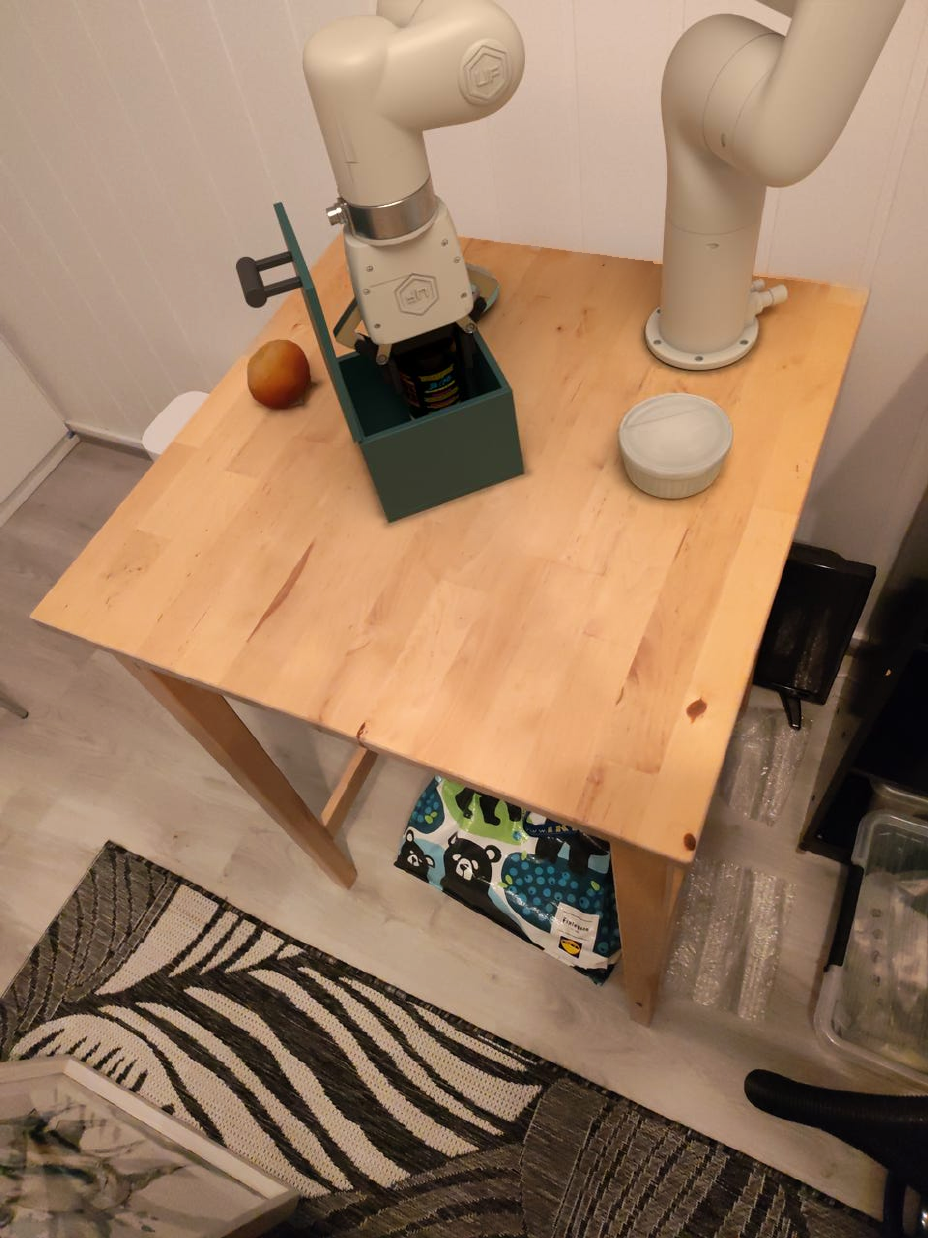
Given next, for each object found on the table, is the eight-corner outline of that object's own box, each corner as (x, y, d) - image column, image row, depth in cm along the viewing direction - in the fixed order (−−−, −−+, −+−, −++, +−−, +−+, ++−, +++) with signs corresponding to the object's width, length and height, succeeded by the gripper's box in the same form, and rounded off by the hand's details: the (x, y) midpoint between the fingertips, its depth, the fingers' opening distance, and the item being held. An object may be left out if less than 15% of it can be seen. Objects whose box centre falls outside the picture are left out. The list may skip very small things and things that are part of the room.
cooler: (483, 395, 94) (467, 310, 84) (524, 473, 86) (512, 389, 77) (358, 440, 93) (327, 360, 83) (388, 523, 86) (359, 445, 76)
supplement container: (486, 413, 85) (471, 331, 76) (439, 449, 83) (418, 370, 74) (445, 385, 88) (426, 304, 79) (399, 420, 86) (374, 341, 77)
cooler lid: (281, 201, 69) (219, 219, 69) (314, 286, 62) (245, 307, 61) (330, 355, 83) (278, 371, 83) (362, 440, 76) (305, 459, 75)
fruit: (318, 409, 95) (265, 363, 90) (278, 432, 100) (226, 390, 95) (337, 362, 99) (287, 316, 94) (297, 387, 104) (249, 344, 99)
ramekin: (665, 413, 88) (667, 375, 83) (750, 460, 82) (758, 423, 78) (595, 473, 85) (594, 437, 80) (679, 526, 79) (683, 491, 75)
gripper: (298, 261, 63) (359, 426, 78) (504, 189, 64) (525, 366, 79) (280, 214, 67) (341, 379, 82) (473, 147, 68) (499, 322, 83)
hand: (431, 371), depth 80 cm, fingers closed on supplement container, 6 cm apart
